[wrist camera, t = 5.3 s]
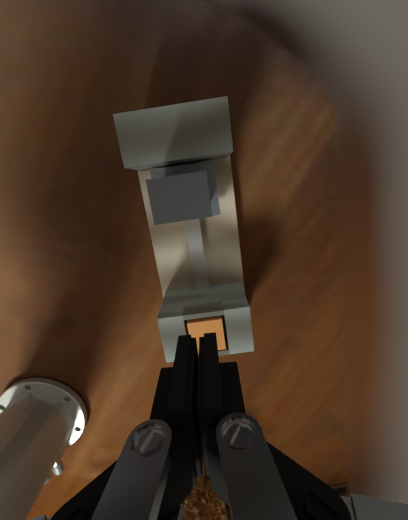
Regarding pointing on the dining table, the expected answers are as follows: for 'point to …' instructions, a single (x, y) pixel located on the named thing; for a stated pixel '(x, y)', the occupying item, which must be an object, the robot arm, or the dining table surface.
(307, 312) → the dining table surface
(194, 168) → the block
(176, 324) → the grey block assembly
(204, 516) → the stuffed squirrel
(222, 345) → the button
